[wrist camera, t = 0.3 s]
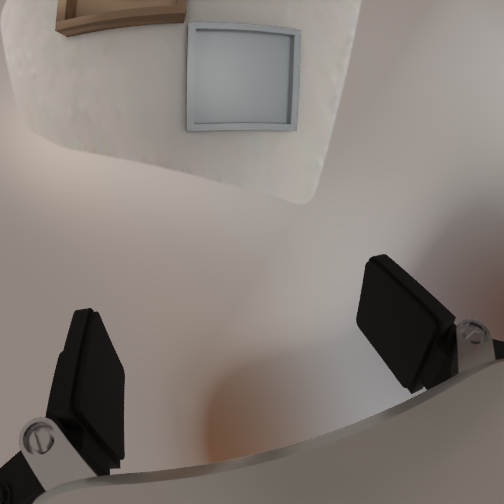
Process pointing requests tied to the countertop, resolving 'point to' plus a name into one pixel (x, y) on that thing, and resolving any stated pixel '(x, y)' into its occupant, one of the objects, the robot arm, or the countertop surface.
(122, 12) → the bin
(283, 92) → the tray
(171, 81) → the countertop surface
